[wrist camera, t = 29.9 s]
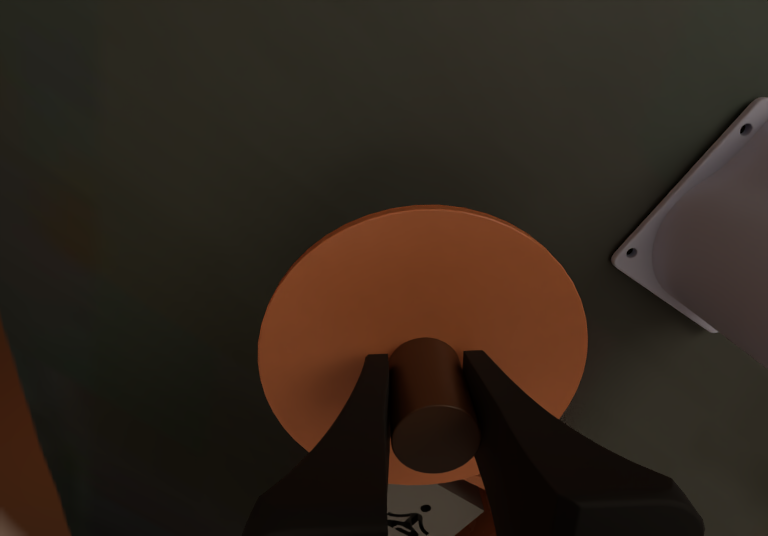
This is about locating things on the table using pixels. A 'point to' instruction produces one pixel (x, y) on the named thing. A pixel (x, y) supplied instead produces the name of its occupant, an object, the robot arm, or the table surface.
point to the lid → (420, 330)
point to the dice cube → (432, 508)
